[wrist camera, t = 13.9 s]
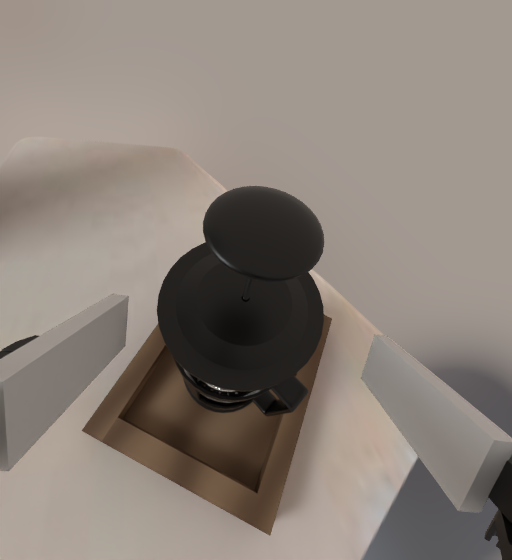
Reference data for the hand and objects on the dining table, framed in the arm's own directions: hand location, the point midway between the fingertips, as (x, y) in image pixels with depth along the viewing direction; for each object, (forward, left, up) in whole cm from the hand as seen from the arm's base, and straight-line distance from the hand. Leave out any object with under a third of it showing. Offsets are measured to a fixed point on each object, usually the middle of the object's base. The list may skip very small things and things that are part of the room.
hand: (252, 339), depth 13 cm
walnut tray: (-1, +1, -17) cm, 17 cm away
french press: (-1, +1, -16) cm, 16 cm away
